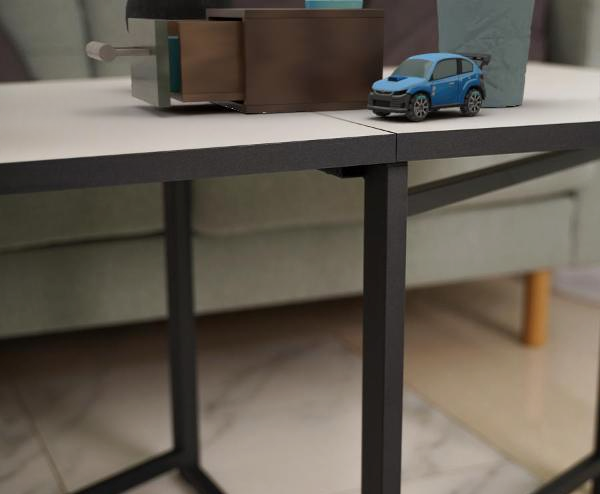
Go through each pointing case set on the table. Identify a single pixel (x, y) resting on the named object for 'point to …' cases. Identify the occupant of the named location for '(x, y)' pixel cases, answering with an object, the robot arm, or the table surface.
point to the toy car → (431, 86)
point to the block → (174, 63)
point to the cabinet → (307, 58)
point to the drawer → (181, 59)
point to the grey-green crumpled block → (490, 42)
